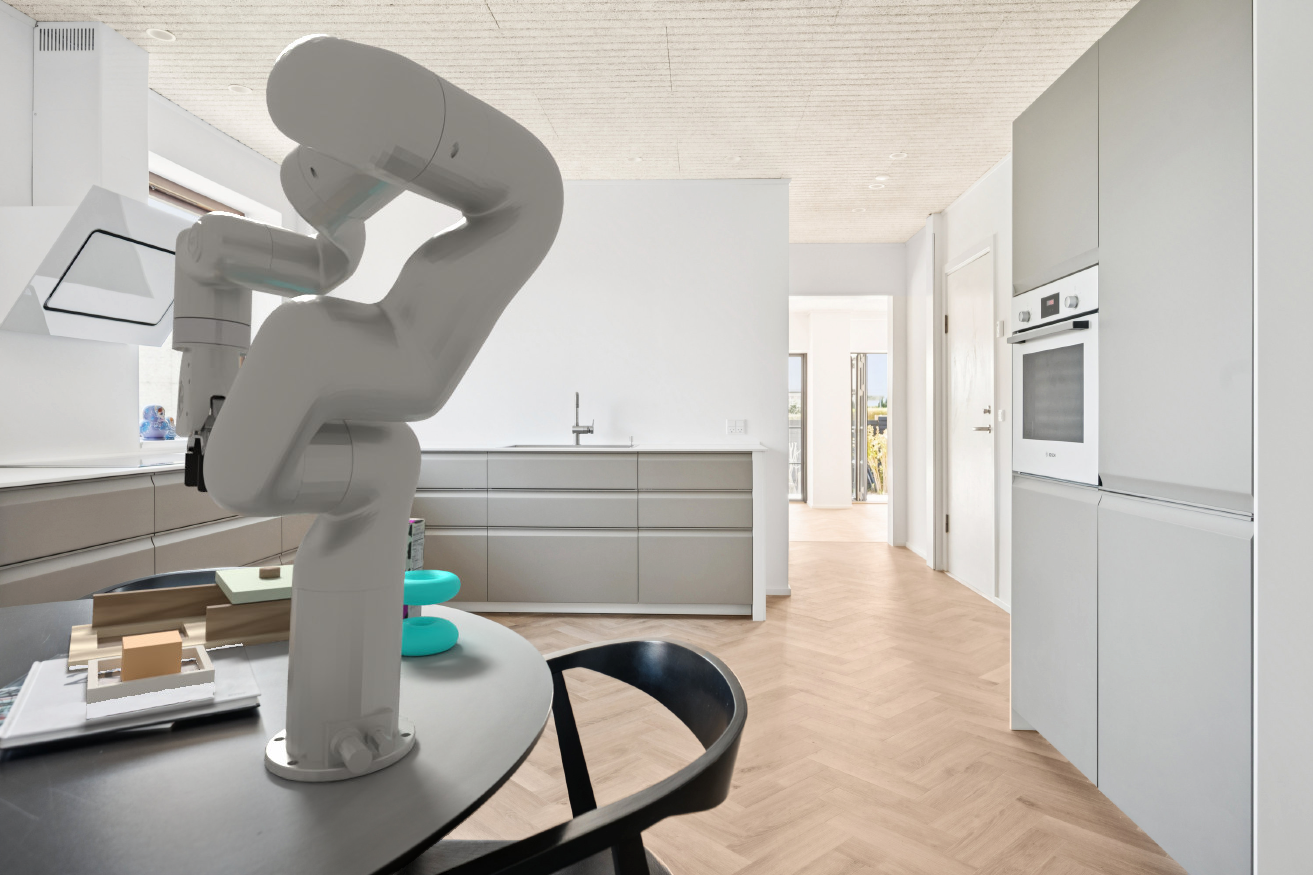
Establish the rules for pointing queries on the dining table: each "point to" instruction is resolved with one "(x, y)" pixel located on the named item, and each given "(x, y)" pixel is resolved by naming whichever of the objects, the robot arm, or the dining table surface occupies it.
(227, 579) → the cover
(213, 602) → the brown wooden open box
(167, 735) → the dining table surface
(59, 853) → the dining table surface
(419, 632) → the donuts
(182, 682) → the dish
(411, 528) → the candy bar box
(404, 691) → the dining table surface
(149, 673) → the block
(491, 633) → the dining table surface
